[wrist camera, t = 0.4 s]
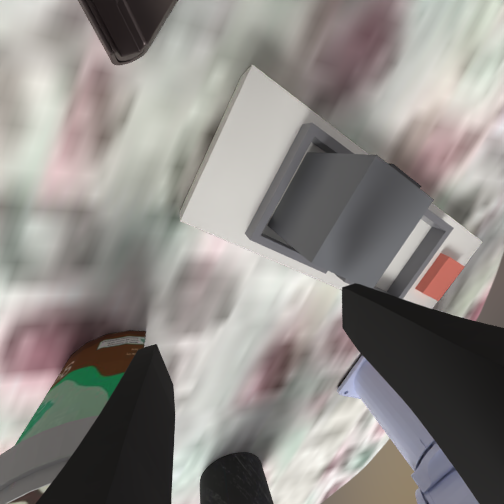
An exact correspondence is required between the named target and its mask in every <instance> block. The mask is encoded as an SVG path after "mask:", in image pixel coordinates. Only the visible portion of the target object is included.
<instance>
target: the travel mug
mask: <svg viewBox="0 0 504 504" xmlns="http://www.w3.org/2000/svg"><path fill="white" fill-rule="evenodd" d="M200 504H273V501H272V497H271V494H270V491H269V487H268V484H267V481H266V477H265V474H264V471H263V468H262V465H261V462H260V460H259V458H258V457H257V456H255V455H253V454H251V453H235V454H231V455H228V456H225V457H223V458H221V459H219V460H217V461H215V462H214V463H213V464H211V465H210V466H209V467H208V468H207V469H206V470H205V471H204V473H203V474H202V477H201V480H200Z"/></svg>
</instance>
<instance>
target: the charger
mask: <svg viewBox="0 0 504 504" xmlns="http://www.w3.org/2000/svg"><path fill="white" fill-rule="evenodd" d="M420 187H421V186H420V185H419V184H418V183H416V182H415V181H414V180H413V179H411V178H410V177H409V176H408V175H406V174H405V173H404V172H403V171H401V170H400V169H399V168H398V167H396V166H395V165H394V164H388V163H386V162H385V161H384V160H382V159H381V158H380V157H379V156H377V155H365V154H341V153H316V152H307V153H306V155H305V157H304V159H303V161H302V162H301V164H300V166H299V168H298V170H297V172H296V173H295V175H294V177H293V179H292V181H291V183H290V184H289V186H288V188H287V190H286V192H285V194H284V196H283V197H282V199H281V201H280V203H279V205H278V207H277V208H276V210H275V212H274V214H273V216H272V218H271V219H270V221H269V223H268V225H267V226H269V227H270V228H271V229H272V230H273V231H274V232H276V233H277V234H278V235H279V236H280V237H281V238H283V239H284V240H285V241H286V242H287V243H288V244H290V245H291V246H292V247H293V248H294V249H295V250H297V251H298V252H299V253H300V254H301V255H302V256H304V257H305V258H306V259H307V260H308V261H309V262H311V263H312V264H315V265H317V266H319V267H321V268H323V269H326V270H328V271H330V272H332V273H334V274H336V275H339V276H341V277H343V278H345V279H347V280H350V281H352V282H354V283H357V284H361V285H364V286H367V287H370V288H374V287H375V285H376V284H377V282H378V281H379V279H380V278H381V277H382V275H383V274H384V272H385V271H386V269H387V268H388V266H389V265H390V263H391V262H392V260H393V259H394V257H395V256H396V255H397V253H398V252H399V250H400V249H401V247H402V246H403V244H404V243H405V241H406V240H407V238H408V237H409V236H410V234H411V233H412V231H413V230H414V228H415V227H416V225H417V224H418V222H419V221H420V219H421V218H422V216H423V215H424V214H425V212H426V211H427V209H428V208H429V206H430V205H431V203H432V202H433V200H434V199H432V198H431V197H430V196H429V195H427V194H426V193H425V192H423V191H422V190H421V189H420Z"/></svg>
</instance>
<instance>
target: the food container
mask: <svg viewBox="0 0 504 504" xmlns="http://www.w3.org/2000/svg"><path fill="white" fill-rule="evenodd" d="M145 335H146V331H123V332H117V333H111V334H106V335H104V336H102V337H99V338H97V339H95V340H92V341H90V342H88V343H86V344H85V345H84V346H82V347H81V348H80V349H79V350H77V351H76V352H75V353H74V354H72V355H71V357H70V358H69V360H68V362H67V363H66V365H65V366H64V368H63V369H62V371H61V373H60V374H59V376H58V377H57V379H56V381H55V382H54V384H53V385H52V387H51V389H50V390H49V392H48V393H47V395H46V397H45V398H44V400H43V401H42V403H41V405H40V406H39V408H38V409H37V411H36V413H35V414H34V416H33V417H32V419H31V421H30V422H29V424H28V425H27V427H26V428H25V430H24V432H23V433H22V435H21V436H20V438H19V440H18V441H17V443H16V444H15V446H14V447H12V448H11V449H9V450H7V451H6V452H4V453H3V454H1V455H0V504H36V502H37V501H38V500H39V499H40V497H41V496H42V495H43V493H44V492H45V491H46V490H47V488H48V487H49V486H50V484H51V483H52V482H53V480H54V479H55V478H56V476H57V475H58V474H59V472H60V471H61V470H62V468H63V467H64V466H65V464H66V463H67V461H68V460H69V459H70V457H71V456H72V454H73V453H74V452H75V450H76V449H77V447H78V446H79V444H80V443H81V441H82V440H83V438H84V437H85V435H86V434H87V432H88V431H89V429H90V428H91V426H92V425H93V423H94V422H95V420H96V419H97V417H98V416H99V414H100V413H101V411H102V409H103V408H104V406H105V405H106V403H107V401H108V400H109V398H110V396H111V395H112V393H113V391H114V390H115V388H116V386H117V385H118V383H119V381H120V380H121V378H122V376H123V375H124V373H125V371H126V369H127V368H128V366H129V364H130V362H131V361H132V359H133V357H134V356H135V354H136V352H137V351H138V349H142V348H144V342H145Z"/></svg>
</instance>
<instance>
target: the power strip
mask: <svg viewBox="0 0 504 504" xmlns="http://www.w3.org/2000/svg"><path fill="white" fill-rule="evenodd" d="M307 152H316V153H341V154H365V155H369V154H368V153H367V152H366V151H364V150H363V149H362V148H360V147H359V146H358V145H356V144H355V143H354V142H353V141H351V140H350V139H349V138H347V137H346V136H345V135H343V134H342V133H341V132H340V131H338V130H337V129H336V128H334V127H333V126H332V125H331V124H329V123H328V122H327V121H325V120H324V119H323V118H321V117H320V116H319V115H318V114H316V113H315V112H314V111H312V110H311V109H310V108H308V107H307V106H306V105H305V104H303V103H302V102H301V101H299V100H298V99H297V98H295V97H294V96H293V95H292V94H290V93H289V92H288V91H286V90H285V89H284V88H282V87H281V86H280V85H279V84H277V83H276V82H275V81H273V80H272V79H271V78H269V77H268V76H267V75H266V74H264V73H263V72H262V71H260V70H259V69H258V68H256V67H255V66H254V65H253V64H252V65H251V66H250V68H249V69H248V70H247V71H246V72H245V73H244V74H243V75H242V76H241V78H240V80H239V82H238V85H237V87H236V89H235V91H234V93H233V96H232V98H231V100H230V102H229V104H228V107H227V109H226V111H225V113H224V115H223V118H222V120H221V122H220V124H219V126H218V128H217V131H216V133H215V135H214V137H213V139H212V142H211V144H210V146H209V148H208V150H207V153H206V155H205V157H204V159H203V161H202V164H201V166H200V168H199V170H198V172H197V175H196V177H195V179H194V181H193V183H192V186H191V188H190V190H189V192H188V194H187V197H186V199H185V201H184V203H183V205H182V208H181V210H180V221H181V222H183V223H186V224H188V225H190V226H193V227H195V228H197V229H200V230H202V231H204V232H207V233H209V234H211V235H214V236H216V237H218V238H221V239H223V240H226V241H228V242H230V243H233V244H235V245H237V246H240V247H242V248H244V249H247V250H249V251H251V252H254V253H256V254H258V255H261V256H263V257H265V258H268V259H270V260H272V261H275V262H277V263H279V264H282V265H284V266H286V267H289V268H291V269H294V270H296V271H298V272H301V273H303V274H305V275H308V276H310V277H312V278H315V279H317V280H319V281H322V282H324V283H326V284H329V285H331V286H333V287H336V288H338V289H340V290H342V287H345V286H348V285H351V284H354V282H352V281H350V280H347V279H345V278H343V277H341V276H339V275H336V274H334V273H332V272H330V271H328V270H326V269H323V268H321V267H319V266H317V265H315V264H312V263H311V262H309V261H308V260H307V259H306V258H305V257H304V256H302V255H301V254H300V253H299V252H298V251H297V250H295V249H294V248H293V247H292V246H291V245H290V244H288V243H287V242H286V241H285V240H284V239H283V238H281V237H280V236H279V235H278V234H277V233H276V232H274V231H273V230H272V229H271V228H270V227H269V226H267V225H268V223H269V221H270V219H271V218H272V216H273V214H274V212H275V210H276V208H277V207H278V205H279V203H280V201H281V199H282V197H283V196H284V194H285V192H286V190H287V188H288V186H289V184H290V183H291V181H292V179H293V177H294V175H295V173H296V172H297V170H298V168H299V166H300V164H301V162H302V161H303V159H304V157H305V155H306V153H307ZM481 244H482V241H481V240H480V239H479V238H477V237H476V236H475V235H473V234H472V233H471V232H469V231H468V230H467V229H466V228H464V227H463V226H462V225H460V224H459V223H458V222H456V221H455V220H454V219H453V218H451V217H450V216H449V215H447V214H446V213H445V212H443V211H442V210H441V209H440V208H438V207H437V206H436V205H434V204H433V203H431V205H430V206H429V208H428V209H427V211H426V212H425V214H424V215H423V216H422V218H421V219H420V221H419V222H418V224H417V225H416V227H415V228H414V230H413V231H412V233H411V234H410V236H409V237H408V238H407V240H406V241H405V243H404V244H403V246H402V247H401V249H400V250H399V252H398V253H397V255H396V256H395V257H394V259H393V260H392V262H391V263H390V265H389V266H388V268H387V269H386V271H385V272H384V274H383V275H382V277H381V278H380V279H379V281H378V282H377V284H376V285H375V287H374V288H373V289H376V290H378V291H381V292H384V293H387V294H390V295H392V296H395V297H398V298H401V299H404V300H407V301H409V302H412V303H415V304H418V305H421V306H424V307H427V308H430V309H432V308H433V307H434V306H435V304H436V303H437V302H438V301H439V300H440V299H441V297H442V296H443V295H444V293H445V292H446V291H447V289H448V288H449V287H450V285H451V284H452V283H453V281H454V280H455V279H456V277H457V276H458V275H459V274H460V272H461V271H462V270H463V268H464V266H465V265H466V264H467V262H468V261H469V260H470V258H471V257H472V256H473V254H474V253H475V252H476V250H477V249H478V248H479V246H480V245H481Z"/></svg>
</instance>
